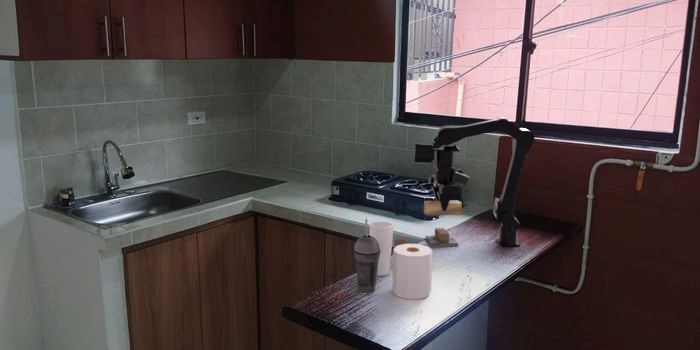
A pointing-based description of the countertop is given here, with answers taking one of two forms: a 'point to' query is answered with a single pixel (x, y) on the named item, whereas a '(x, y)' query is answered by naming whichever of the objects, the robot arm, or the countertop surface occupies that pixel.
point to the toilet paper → (412, 271)
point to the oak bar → (436, 208)
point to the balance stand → (441, 238)
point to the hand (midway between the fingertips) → (442, 209)
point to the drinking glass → (383, 244)
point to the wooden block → (401, 240)
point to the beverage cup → (366, 262)
